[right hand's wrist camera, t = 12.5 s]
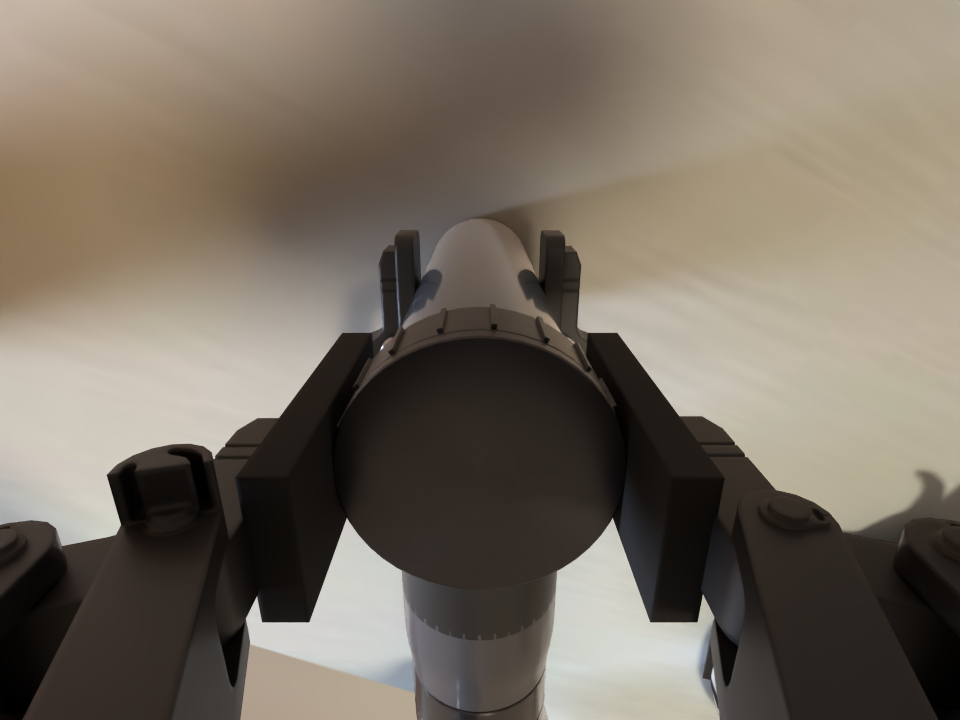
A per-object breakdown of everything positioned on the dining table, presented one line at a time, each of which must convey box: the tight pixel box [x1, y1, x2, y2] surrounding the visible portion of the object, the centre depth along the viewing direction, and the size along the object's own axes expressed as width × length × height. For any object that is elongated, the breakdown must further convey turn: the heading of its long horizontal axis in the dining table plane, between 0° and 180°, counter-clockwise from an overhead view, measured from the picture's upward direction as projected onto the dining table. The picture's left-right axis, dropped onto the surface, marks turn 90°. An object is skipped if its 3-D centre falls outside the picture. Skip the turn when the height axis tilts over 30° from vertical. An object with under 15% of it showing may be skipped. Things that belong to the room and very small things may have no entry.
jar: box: [401, 218, 562, 333], centre depth 19 cm, size 5×5×19 cm
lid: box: [333, 304, 627, 590], centre depth 11 cm, size 6×6×2 cm
